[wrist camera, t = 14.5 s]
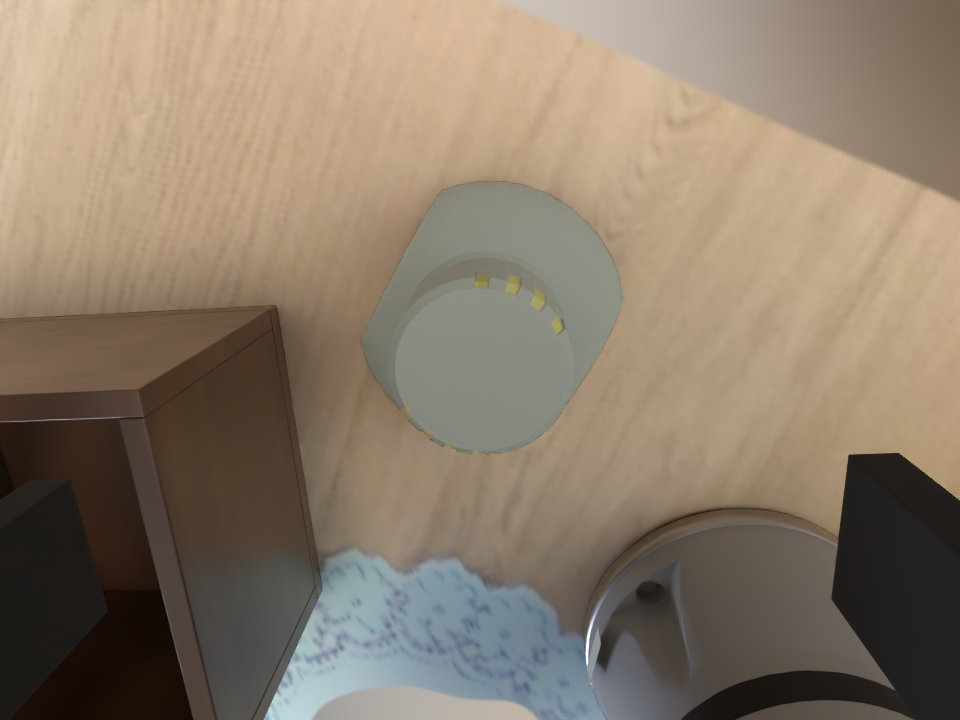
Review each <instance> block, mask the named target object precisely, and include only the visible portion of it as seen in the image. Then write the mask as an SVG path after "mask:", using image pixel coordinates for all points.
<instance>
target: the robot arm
mask: <svg viewBox="0 0 960 720" xmlns="http://www.w3.org/2000/svg"><path fill="white" fill-rule="evenodd" d="M107 611H108V608H107V605H106V601H105V598H104V594H103V591H102V587H101V584H100V580H99V577H98V573H97V570H96V566H95V563H94V560H93V556H92V553H91V549H90V546H89V542H88V539H87V535H86V532H85V528H84V525H83V522H82V518H81V515H80V511H79V508H78V504H77V501H76V497H75V494H74V490H73V487H72V484H71V480H70V479H69V480H37V481H28V482H26V483H25V484H23V485H22V486H20V487H19V488H17V489H16V490H14V491H13V492H11V493H10V494H8V495H7V496H5V497H4V498H2V499H1V500H0V720H10V719H11V717H12V716H13V715H14V714H15V713H16V712H17V711H18V710H19V709H20V708H21V706H22V705H23V704H24V703H25V702H26V701H27V700H28V699H29V698H30V696H31V695H32V694H33V693H34V692H35V691H36V690H37V689H38V688H39V686H40V685H41V684H42V683H43V682H44V681H45V680H46V679H47V678H48V677H49V675H50V674H51V673H52V672H53V671H54V670H55V669H56V668H57V667H58V665H59V664H60V663H61V662H62V661H63V660H64V659H65V658H66V657H67V656H68V654H69V653H70V652H71V651H72V650H73V649H74V648H75V647H76V646H77V644H78V643H79V642H80V641H81V640H82V639H83V638H84V637H85V636H86V634H87V633H88V632H89V631H90V630H91V629H92V628H93V627H94V626H95V625H96V623H97V622H98V621H99V620H100V619H101V618H102V617H103V616H104V615H105V613H106V612H107ZM584 646H585V655H586V662H587V674H588V681H589V685H590V682H591V685H592V688H593V691H594V693H595V696H596V699H597V702H598V704H599V706H600V709H601V711H602V713H603V714H604V716H605V718H606V720H960V500H958V499H957V498H956V497H955V496H953V495H952V494H951V493H949V492H948V491H947V490H946V489H944V488H943V487H942V486H940V485H939V484H938V483H937V482H935V481H934V480H933V479H931V478H930V477H929V476H928V475H926V474H925V473H924V472H922V471H921V470H920V469H919V468H917V467H916V466H915V465H913V464H912V463H911V462H910V461H908V460H907V459H906V458H904V457H903V456H902V455H901V454H899V453H886V454H854V455H849V456H848V464H847V473H846V481H845V489H844V497H843V505H842V514H841V522H840V530H839V538H838V539H837V538H836V537H835V536H833V535H832V534H830V533H829V532H827V531H826V530H824V529H822V528H820V527H818V526H816V525H814V524H812V523H810V522H807V521H805V520H802V519H800V518H797V517H794V516H790V515H787V514H783V513H778V512H773V511H767V510H757V509H727V510H718V511H711V512H705V513H701V514H697V515H693V516H689V517H686V518H683V519H680V520H677V521H675V522H672V523H670V524H668V525H665V526H663V527H661V528H659V529H657V530H655V531H654V532H652V533H650V534H648V535H647V536H645V537H644V538H642V539H641V540H639V541H638V542H636V543H635V544H634V545H632V546H631V547H630V548H629V549H627V550H626V551H625V552H624V553H623V554H622V555H621V556H620V557H619V558H618V559H617V560H616V561H615V562H614V563H613V564H612V566H611V567H610V568H609V569H608V570H607V572H606V573H605V575H604V576H603V577H602V579H601V580H600V582H599V584H598V586H597V588H596V589H595V591H594V593H593V596H592V598H591V601H590V603H589V607H588V610H587V613H586V619H585V625H584Z"/></svg>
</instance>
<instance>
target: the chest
mask: <svg viewBox="0 0 960 720" xmlns="http://www.w3.org/2000/svg"><path fill="white" fill-rule="evenodd" d="M69 479H70V480H71V484H72V487H73V490H74V494H75V497H76V501H77V504H78V508H79V511H80V515H81V518H82V522H83V525H84V528H85V532H86V535H87V539H88V542H89V546H90V549H91V553H92V556H93V560H94V563H95V566H96V570H97V573H98V577H99V580H100V584H101V587H102V591H103V594H104V598H105V601H106V605H107V608H108V611H107V612H106V613H105V615H104V616H103V617H102V618H101V619H100V620H99V621H98V622H97V623H96V625H95V626H94V627H93V628H92V629H91V630H90V631H89V632H88V633H87V634H86V636H85V637H84V638H83V639H82V640H81V641H80V642H79V643H78V644H77V646H76V647H75V648H74V649H73V650H72V651H71V652H70V653H69V654H68V656H67V657H66V658H65V659H64V660H63V661H62V662H61V663H60V664H59V665H58V667H57V668H56V669H55V670H54V671H53V672H52V673H51V674H50V675H49V677H48V678H47V679H46V680H45V681H44V682H43V683H42V684H41V685H40V686H39V688H38V689H37V690H36V691H35V692H34V693H33V694H32V695H31V696H30V698H29V699H28V700H27V701H26V702H25V703H24V704H23V705H22V706H21V708H20V709H19V710H18V711H17V712H16V713H15V714H14V715H13V716H12V717H11V719H10V720H263V719H264V717H265V715H266V713H267V711H268V708H269V706H270V704H271V702H272V700H273V697H274V695H275V693H276V691H277V689H278V686H279V684H280V682H281V680H282V678H283V675H284V673H285V671H286V669H287V667H288V664H289V662H290V660H291V658H292V656H293V653H294V651H295V649H296V647H297V644H298V642H299V640H300V638H301V636H302V633H303V631H304V629H305V627H306V625H307V622H308V620H309V618H310V616H311V614H312V611H313V609H314V607H315V605H316V603H317V600H318V598H319V596H320V594H321V591H322V586H321V580H320V574H319V567H318V561H317V555H316V549H315V543H314V536H313V530H312V524H311V518H310V512H309V506H308V499H307V493H306V487H305V481H304V475H303V469H302V462H301V456H300V450H299V444H298V438H297V432H296V425H295V419H294V413H293V407H292V401H291V395H290V388H289V382H288V376H287V370H286V364H285V358H284V351H283V345H282V339H281V333H280V327H279V321H278V314H277V308H276V306H256V307H236V308H216V309H196V310H176V311H156V312H136V313H116V314H96V315H76V316H56V317H36V318H16V319H0V500H1V499H2V498H4V497H5V496H7V495H8V494H10V493H11V492H13V491H14V490H16V489H17V488H19V487H20V486H22V485H23V484H25V483H26V482H28V481H37V480H69Z"/></svg>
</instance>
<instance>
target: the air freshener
mask: <svg viewBox="0 0 960 720" xmlns="http://www.w3.org/2000/svg"><path fill="white" fill-rule="evenodd" d="M622 303H623V292H622V286H621V281H620V277H619V275H618V272H617V269H616V266H615V264H614V261H613V258H612V256H611V255H610V253H609V251H608V249H607V248H606V246H605V244H604V242H603V241H602V239H601V238H600V237H599V235H598V234H597V233H596V232H595V231H594V229H593V228H592V227H591V226H590V225H589V223H588V222H587V221H586V220H585V219H584V218H582V217H581V216H580V215H579V214H578V213H577V212H575V211H574V210H573V209H572V208H571V207H569V206H568V205H566V204H565V203H563V202H561V201H560V200H558V199H556V198H555V197H553V196H551V195H549V194H547V193H545V192H542V191H539V190H537V189H534V188H531V187H529V186H525V185H520V184H515V183H509V182H503V181H478V182H472V183H466V184H459V185H456V186H453V187H450V188H447V189H444V190H442V191H441V192H440V193H439V195H438V196H437V198H436V199H435V201H434V202H433V204H432V206H431V207H430V209H429V211H428V212H427V214H426V216H425V217H424V219H423V221H422V223H421V224H420V226H419V228H418V230H417V231H416V233H415V235H414V237H413V239H412V240H411V242H410V244H409V246H408V248H407V249H406V251H405V253H404V255H403V257H402V259H401V261H400V262H399V264H398V266H397V268H396V270H395V272H394V274H393V276H392V278H391V279H390V281H389V283H388V285H387V287H386V289H385V291H384V293H383V295H382V297H381V299H380V301H379V303H378V305H377V307H376V309H375V311H374V313H373V315H372V318H371V320H370V322H369V324H368V326H367V328H366V331H365V333H364V335H363V338H362V341H361V346H362V349H363V352H364V355H365V359H366V361H367V363H368V365H369V367H370V369H371V371H372V374H373V376H374V378H375V379H376V381H377V382H378V384H379V385H380V386H381V388H382V389H383V391H384V392H385V394H386V395H387V396H388V397H389V398H390V399H391V401H392V402H393V403H394V404H395V405H396V406H397V407H398V408H399V409H400V410H401V411H402V412H404V414H405V415H406V417H407V418H408V421H409V422H410V423H411V424H412V425H413V426H414V427H415V428H416V429H417V430H418V431H422V432H424V433H425V434H426V435H428V436H429V437H430V438H431V439H430V440H432V441H434V442H436V443H438V444H439V445H441V446H444V445H445V446H448V447H451V448H454V449H456V451H457V452H463V453H468V454H472V453H473V452H478V453H486V455H490V454H498V453H504V452H507V451H511V450H515V449H517V448H520V447H522V446H524V445H526V444H529V443H530V442H532V441H533V440H535V439H536V438H538V437H539V436H541V435H542V434H543V433H544V432H545V431H546V430H547V429H549V428H550V427H551V426H552V425H553V423H554V422H555V421H556V420H557V418H558V417H559V416H560V414H561V413H562V411H563V409H564V407H565V406H566V404H567V403H568V402H569V400H570V399H571V397H572V396H573V394H574V393H575V392H576V390H577V389H578V387H579V386H580V384H581V383H582V381H583V379H584V378H585V376H586V375H587V373H588V372H589V370H590V368H591V367H592V365H593V363H594V362H595V360H596V358H597V357H598V355H599V353H600V351H601V349H602V348H603V346H604V344H605V342H606V340H607V338H608V336H609V334H610V332H611V330H612V328H613V326H614V324H615V322H616V319H617V317H618V315H619V312H620V310H621V307H622Z"/></svg>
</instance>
